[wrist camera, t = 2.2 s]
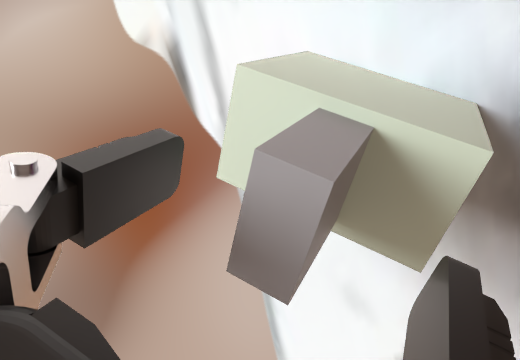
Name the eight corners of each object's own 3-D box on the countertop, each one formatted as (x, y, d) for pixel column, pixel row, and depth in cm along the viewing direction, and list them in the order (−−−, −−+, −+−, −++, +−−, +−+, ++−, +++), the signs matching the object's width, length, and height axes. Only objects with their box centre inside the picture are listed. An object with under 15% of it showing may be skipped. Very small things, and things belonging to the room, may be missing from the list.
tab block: (307, 51, 20) (140, 81, 9) (476, 103, 17) (522, 234, 6) (285, 132, 22) (133, 231, 12) (430, 189, 20) (407, 387, 9)
